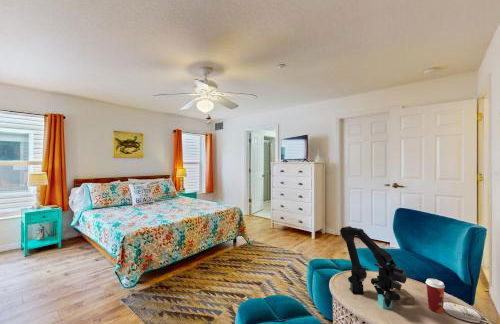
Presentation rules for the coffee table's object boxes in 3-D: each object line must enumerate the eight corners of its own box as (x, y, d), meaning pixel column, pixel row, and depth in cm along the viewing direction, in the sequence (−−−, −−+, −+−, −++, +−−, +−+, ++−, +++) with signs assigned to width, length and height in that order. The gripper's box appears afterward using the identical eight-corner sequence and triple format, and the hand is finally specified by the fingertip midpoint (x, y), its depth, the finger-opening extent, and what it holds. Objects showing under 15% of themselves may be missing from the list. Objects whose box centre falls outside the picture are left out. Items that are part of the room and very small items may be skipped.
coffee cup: (446, 316, 121) (446, 287, 121) (426, 311, 125) (426, 282, 125) (444, 307, 128) (443, 280, 128) (425, 303, 132) (424, 276, 132)
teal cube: (383, 308, 128) (382, 299, 128) (378, 303, 133) (377, 294, 133) (392, 308, 128) (392, 299, 128) (386, 303, 133) (386, 294, 133)
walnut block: (398, 304, 132) (398, 297, 132) (389, 295, 141) (388, 289, 141) (414, 304, 132) (414, 297, 132) (404, 295, 141) (403, 288, 141)
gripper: (410, 284, 121) (411, 314, 121) (388, 268, 140) (389, 294, 140) (388, 284, 121) (389, 314, 121) (370, 268, 140) (370, 294, 140)
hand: (384, 304), depth 130 cm, fingers closed on teal cube, 5 cm apart
